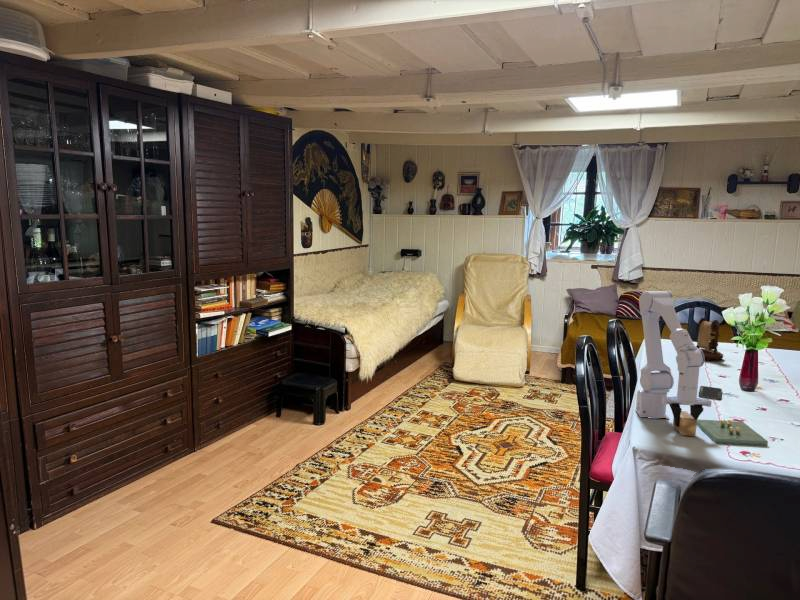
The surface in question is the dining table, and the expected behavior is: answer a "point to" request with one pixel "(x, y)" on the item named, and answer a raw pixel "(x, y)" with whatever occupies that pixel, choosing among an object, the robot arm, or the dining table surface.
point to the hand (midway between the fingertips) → (684, 426)
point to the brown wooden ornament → (704, 337)
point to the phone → (710, 392)
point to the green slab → (731, 432)
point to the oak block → (686, 424)
